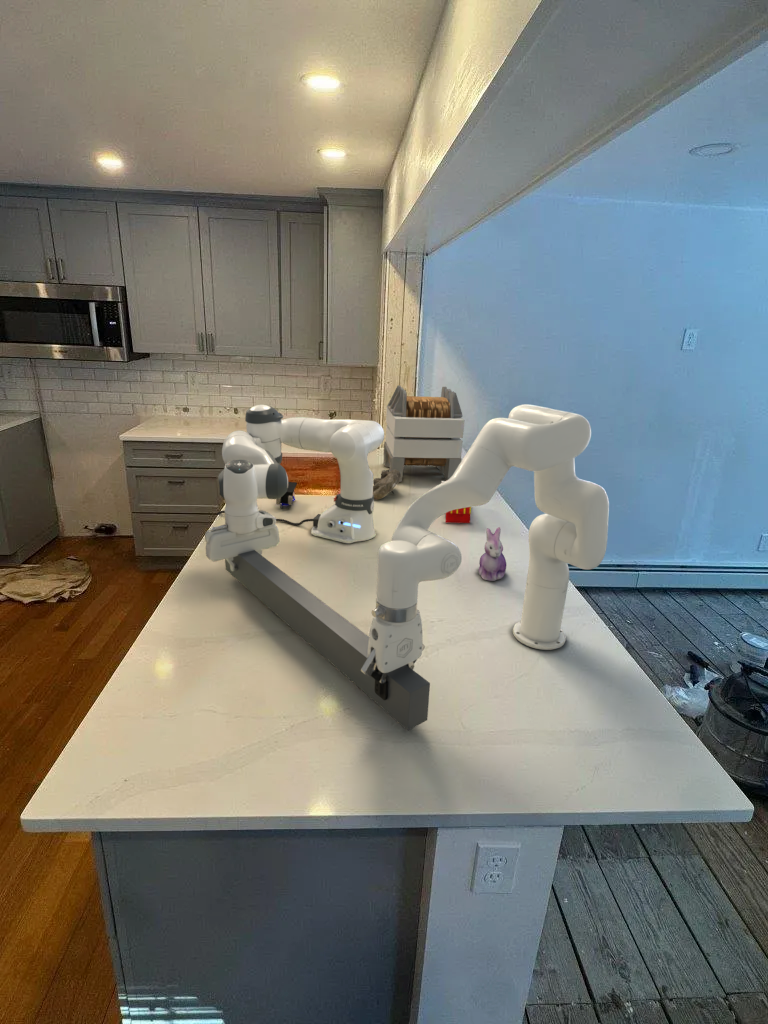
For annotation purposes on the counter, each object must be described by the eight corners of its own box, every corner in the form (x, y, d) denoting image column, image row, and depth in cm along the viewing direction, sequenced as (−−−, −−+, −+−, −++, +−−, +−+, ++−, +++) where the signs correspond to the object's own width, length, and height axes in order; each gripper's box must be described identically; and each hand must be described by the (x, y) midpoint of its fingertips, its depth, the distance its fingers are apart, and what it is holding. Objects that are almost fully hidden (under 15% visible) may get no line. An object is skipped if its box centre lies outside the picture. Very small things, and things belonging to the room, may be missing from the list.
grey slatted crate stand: (382, 463, 289) (386, 382, 275) (445, 464, 293) (451, 384, 279) (390, 482, 257) (394, 392, 243) (460, 483, 261) (468, 394, 247)
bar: (225, 569, 162) (223, 542, 159) (241, 565, 165) (239, 538, 162) (407, 730, 103) (410, 692, 101) (427, 720, 106) (430, 682, 103)
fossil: (369, 475, 252) (396, 457, 247) (382, 491, 255) (409, 474, 250) (363, 495, 232) (392, 476, 227) (377, 513, 235) (406, 494, 230)
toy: (463, 477, 237) (476, 489, 207) (461, 508, 239) (474, 524, 210) (434, 476, 236) (443, 488, 207) (432, 507, 239) (441, 523, 210)
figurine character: (293, 513, 218) (297, 497, 231) (292, 495, 215) (297, 480, 228) (275, 513, 218) (281, 496, 231) (274, 495, 214) (280, 479, 228)
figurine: (489, 584, 165) (495, 537, 160) (469, 570, 174) (474, 524, 169) (515, 579, 169) (521, 532, 164) (493, 565, 178) (499, 520, 173)
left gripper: (209, 532, 144) (213, 581, 149) (281, 517, 156) (282, 562, 161) (200, 524, 148) (203, 572, 153) (270, 510, 160) (272, 554, 165)
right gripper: (371, 631, 95) (368, 719, 102) (444, 602, 105) (437, 684, 112) (346, 612, 101) (345, 697, 107) (417, 587, 111) (413, 665, 117)
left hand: (244, 567), depth 157 cm, fingers closed on bar, 5 cm apart
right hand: (392, 689), depth 109 cm, fingers closed on bar, 4 cm apart
